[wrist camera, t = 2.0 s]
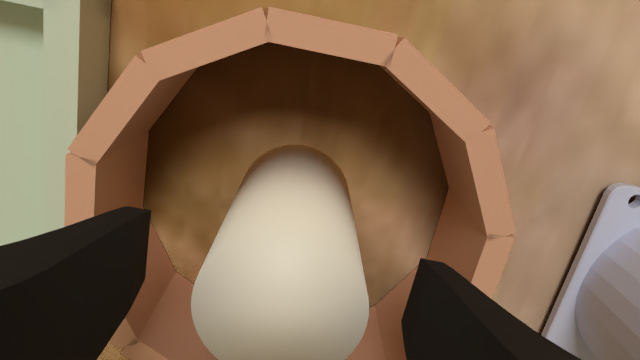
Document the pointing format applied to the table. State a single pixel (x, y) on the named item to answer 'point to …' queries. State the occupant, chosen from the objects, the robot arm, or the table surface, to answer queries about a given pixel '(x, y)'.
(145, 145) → the segmented salmon ring
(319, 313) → the peg
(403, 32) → the table surface
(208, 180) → the table surface
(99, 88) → the tray
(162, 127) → the table surface
